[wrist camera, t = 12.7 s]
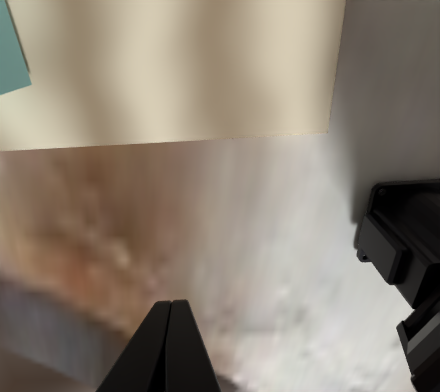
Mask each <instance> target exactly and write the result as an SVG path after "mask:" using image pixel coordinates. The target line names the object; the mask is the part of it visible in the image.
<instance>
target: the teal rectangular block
mask: <svg viewBox="0 0 440 392" xmlns="http://www.w3.org/2000/svg"><path fill="white" fill-rule="evenodd" d="M30 85H32V83H31V80H30V77H29V74H28V71H27V68H26V65H25V62H24V59H23V56H22V53H21V49H20V46H19V43H18V40H17V37H16V34H15V31H14V28H13V25H12V22H11V19H10V16H9V13H8V10H7V7H6V3H5V0H0V95H2V94H5V93H8V92H12V91H15V90H18V89H21V88H24V87H27V86H30Z"/></svg>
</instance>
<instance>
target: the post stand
mask: <svg viewBox="0 0 440 392" xmlns="http://www.w3.org/2000/svg"><path fill="white" fill-rule="evenodd" d="M5 3H6V7H7V10H8V13H9V16H10V19H11V22H12V25H13V28H14V31H15V34H16V37H17V40H18V43H19V46H20V49H21V53H22V56H23V59H24V62H25V65H26V68H27V71H28V74H29V77H30V80H31V83H32V85H30V86H27V87H24V88H21V89H18V90H15V91H12V92H8V93H5V94H2V95H0V151H11V150H29V149H47V148H65V147H84V146H102V145H120V144H138V143H157V142H175V141H193V140H212V139H230V138H248V137H266V136H285V135H303V134H321V133H328V127H329V119H330V112H331V105H332V98H333V91H334V83H335V76H336V69H337V62H338V55H339V48H340V40H341V33H342V26H343V19H344V12H345V4H346V0H5Z"/></svg>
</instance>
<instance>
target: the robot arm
mask: <svg viewBox="0 0 440 392" xmlns="http://www.w3.org/2000/svg"><path fill="white" fill-rule="evenodd" d="M381 189H383V190H382V191H381V192H380V193H378V192H379V191H380V190H381ZM358 244H359V246H358V250H357V257H358V259H359V260H360V261H361V262H372V263H373V265H374V266H375V268H376V269H377V270H378V272H379V273H380V274H381V276H382V277H383V279H384V280H385V281H386V282H387V283H388V284H389V285H395V286H396V288H397V289H398V290H399V292H400V293H401V294H402V296H403V297H404V298H405V300H406V301H407V302H408V304H409V305H410V306H411V308H412V309H415V310H414V311H413V312H412V313H411V314H410V315H409V317H408V318H407V319H406V320H405V321H401V322H400V323H399V325H398V326H397V327H396V329H397V332H398V335H399V338H400V341H401V344H402V347H403V350H404V353H405V356H406V360H407V363H408V366H409V369H410V372H411V375H412V376H411V382H412V385H413V387H414V389H415V391H416V392H440V179H436V180H419V181H402V182H385V183H378V184H376V185H375V186H374V187H373V188H372V191H371V195H370V199H369V204H368V208H367V212H366V214H365V215H364V219H363V223H362V227H361V232H360V236H359V240H358ZM364 255H365V256H364ZM96 392H222V391H221V388H220V385H219V383H218V380H217V378H216V375H215V372H214V369H213V367H212V364H211V361H210V358H209V356H208V353H207V350H206V348H205V345H204V342H203V339H202V337H201V334H200V331H199V329H198V326H197V323H196V321H195V318H194V315H193V312H192V310H191V307H190V304H189V302H188V300H186V299H184V300H174V301H173V302H171V301H158V302H156V303H155V304H154V305H153V307H152V308H151V310H150V311H149V313H148V314H147V316H146V317H145V319H144V320H143V322H142V323H141V325H140V326H139V328H138V329H137V331H136V332H135V334H134V335H133V337H132V338H131V340H130V341H129V343H128V344H127V346H126V347H125V348H124V350H123V351H122V353H121V354H120V356H119V357H118V359H117V360H116V362H115V363H114V365H113V366H112V368H111V369H110V371H109V372H108V374H107V375H106V377H105V378H104V380H103V381H102V383H101V384H100V386H99V387H98V389H97V390H96Z"/></svg>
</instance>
